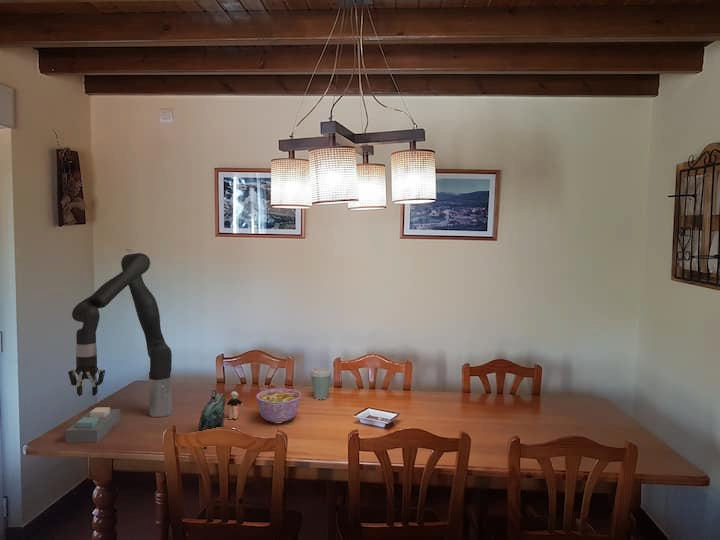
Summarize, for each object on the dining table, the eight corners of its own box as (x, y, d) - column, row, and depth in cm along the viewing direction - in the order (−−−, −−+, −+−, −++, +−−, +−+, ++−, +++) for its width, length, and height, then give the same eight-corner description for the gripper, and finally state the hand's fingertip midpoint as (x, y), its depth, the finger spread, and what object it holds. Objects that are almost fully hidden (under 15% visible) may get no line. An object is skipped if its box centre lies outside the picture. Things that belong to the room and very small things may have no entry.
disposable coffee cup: (335, 397, 269) (335, 369, 268) (322, 403, 260) (323, 373, 259) (318, 393, 274) (318, 366, 273) (305, 399, 265) (306, 370, 264)
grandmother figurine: (227, 421, 233) (227, 393, 232) (225, 418, 236) (225, 391, 235) (244, 418, 236) (244, 391, 235) (241, 416, 240) (241, 389, 239)
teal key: (98, 424, 216) (98, 417, 216) (92, 429, 210) (92, 422, 210) (83, 424, 215) (83, 417, 215) (76, 429, 209) (76, 422, 209)
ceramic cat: (214, 429, 223) (214, 383, 222) (229, 430, 223) (229, 384, 221) (195, 448, 203) (195, 398, 202) (211, 449, 203) (211, 399, 201)
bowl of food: (299, 411, 247) (299, 387, 246) (302, 427, 228) (302, 401, 227) (256, 413, 244) (256, 389, 243) (255, 429, 224) (255, 403, 223)
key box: (120, 420, 231) (119, 409, 231) (97, 442, 207) (96, 430, 207) (92, 420, 230) (91, 409, 230) (65, 442, 207) (65, 430, 206)
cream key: (110, 414, 228) (110, 407, 228) (104, 419, 222) (104, 412, 222) (96, 414, 227) (95, 407, 227) (90, 419, 221) (89, 412, 221)
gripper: (108, 351, 215) (109, 392, 216) (72, 351, 214) (73, 392, 215) (101, 356, 207) (101, 398, 208) (63, 356, 206) (64, 398, 207)
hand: (87, 395), depth 212 cm, fingers open, 5 cm apart
